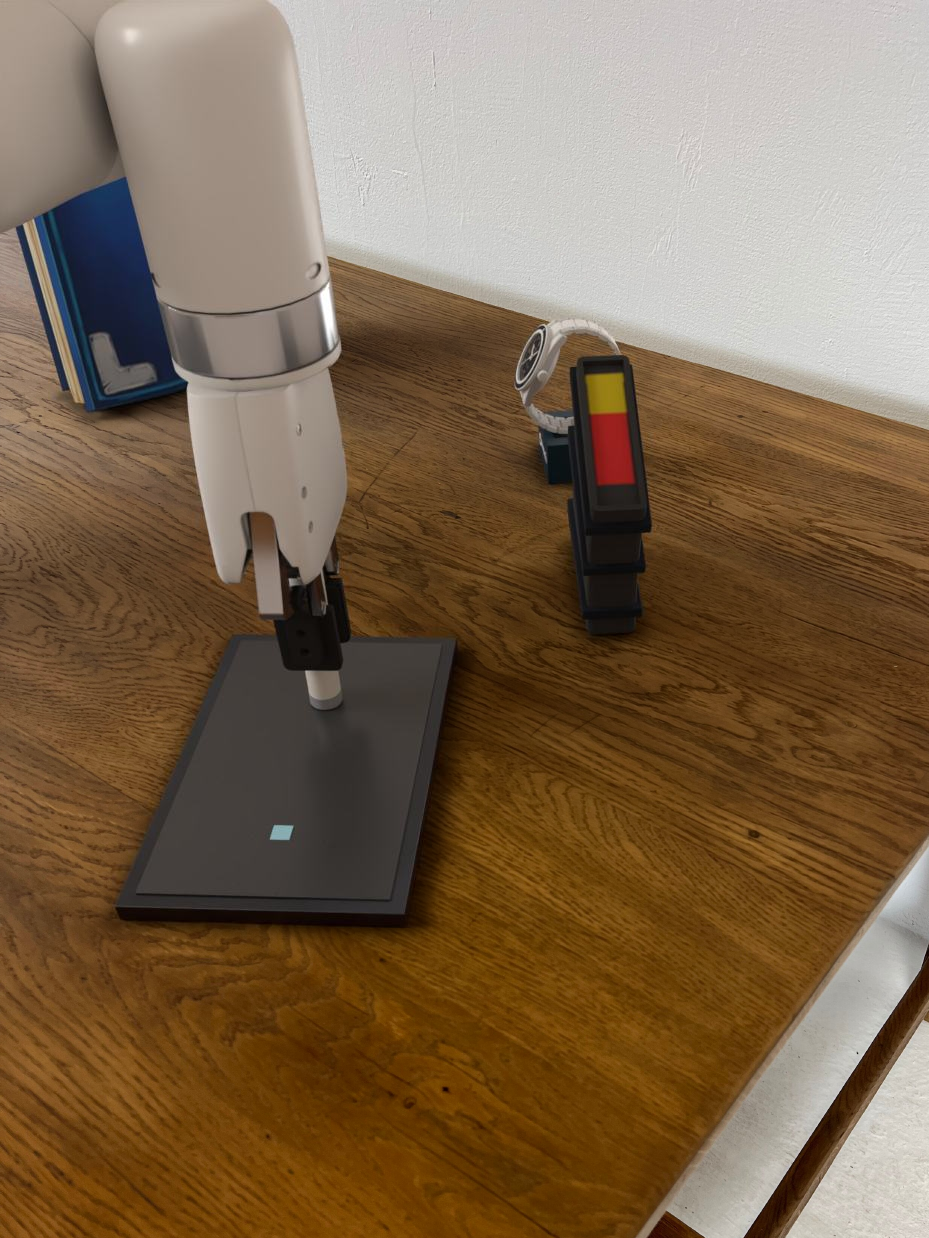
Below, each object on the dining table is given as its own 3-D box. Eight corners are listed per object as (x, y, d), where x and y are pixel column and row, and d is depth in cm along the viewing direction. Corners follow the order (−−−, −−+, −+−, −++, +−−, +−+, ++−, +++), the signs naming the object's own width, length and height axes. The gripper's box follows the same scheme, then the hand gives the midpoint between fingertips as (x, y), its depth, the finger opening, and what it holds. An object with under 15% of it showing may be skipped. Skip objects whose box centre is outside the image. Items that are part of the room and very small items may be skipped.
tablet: (119, 919, 56) (112, 904, 55) (235, 646, 72) (231, 631, 71) (406, 927, 55) (404, 912, 54) (458, 650, 71) (456, 635, 70)
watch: (514, 451, 90) (507, 312, 83) (614, 443, 91) (617, 304, 84) (522, 486, 86) (516, 343, 79) (627, 477, 87) (631, 335, 80)
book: (283, 328, 109) (228, 20, 92) (321, 352, 105) (271, 33, 88) (60, 394, 99) (-47, 60, 82) (93, 422, 95) (-13, 78, 78)
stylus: (307, 709, 65) (283, 576, 59) (313, 689, 67) (290, 557, 61) (339, 710, 65) (318, 577, 59) (345, 690, 67) (325, 558, 61)
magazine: (616, 498, 81) (633, 349, 68) (634, 664, 77) (657, 540, 63) (563, 501, 81) (570, 352, 67) (579, 667, 76) (589, 544, 62)
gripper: (215, 262, 57) (283, 574, 70) (112, 402, 46) (215, 747, 58) (364, 261, 57) (405, 575, 69) (299, 402, 45) (362, 749, 58)
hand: (318, 651), depth 64 cm, fingers closed on stylus, 1 cm apart
